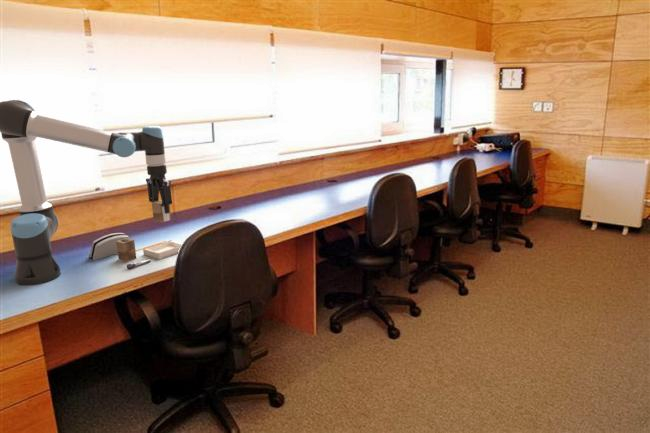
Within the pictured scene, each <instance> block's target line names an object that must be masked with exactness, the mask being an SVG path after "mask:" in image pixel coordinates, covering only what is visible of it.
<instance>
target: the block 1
mask: <svg viewBox="0 0 650 433" xmlns="http://www.w3.org/2000/svg"><path fill="white" fill-rule="evenodd" d="M116 244H117V251H118V253H117V257H118V260H119V261H122V262H124V263H126V262H129V261H133V260H136V259H137V251H135V250H136V244H135V239H132V238H130V237H129V238H125V239H122V240H118V241H116Z"/></svg>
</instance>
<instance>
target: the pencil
mask: <svg viewBox="0 0 650 433" xmlns="http://www.w3.org/2000/svg"><path fill="white" fill-rule="evenodd" d="M164 242H167V240H166V241H162V242H158V243H155V244H151V245H148V246H145V247H142V248H138V249H135V251H136V252H138V251H143V249H144V248H148V247H151V246H154V245H157V244H161V243H164Z"/></svg>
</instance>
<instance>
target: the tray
mask: <svg viewBox="0 0 650 433" xmlns="http://www.w3.org/2000/svg"><path fill="white" fill-rule="evenodd" d="M163 242H164V241H163ZM160 243H161V242H160ZM156 244H157V245H154V244H153V245H154V246H151V245H150V246H151V247H148V246H147V247H148V248H144V247H143V248H144V249H142V251H143V255H145V256H147V257H150V258H154V259H157V260H163V259H166V258H168V257H171V256H174V255H177V253H178V250H179V248H180V247H181V245H182V244H183V243H182V242H178V241H175V240H168V241H167V240H166V242H164V243H161V244H158V243H156ZM178 254H179V253H178Z"/></svg>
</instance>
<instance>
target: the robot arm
mask: <svg viewBox="0 0 650 433" xmlns="http://www.w3.org/2000/svg"><path fill="white" fill-rule="evenodd" d="M141 128H142V129H141V130H142V131H137V132H135V131H134V132H117V133H116V132H111V131H107V130H102V129H99V128H98V129H97V128H94V127H90V126H87V125H86V126H85V125H81V124H77V123H72V122H68V121H64V120H59V119H56V118H51V117H47V116H43V115H39V114H37V112H36V110H35V108H34V107H33V106H31V105H30V104H29V103H28V102H26V101H23V100H19V99H10V100H3V101H1V102H0V134H1V137H2V140H3V141H5V142H6V143H8V147H9V148H8V149H9V152H10V157H11V161H12V162H11V163H12V166H13V171H14V175H15V179H16V183H17V187H18V188H17V189H18V193H19V197H20V202H21V205H20V207H19V209H18V214H19V216H16V217H15V218H13V219H12V220H11V222H10V234H11V236H12V237H11V238H12V241H13V242H12V243H13V247H14V253H15V258H16V265H15V270H14V275H13V277H14V282H15V284H18V285H23V286H24V285H25V286H28V285H29V286H30V285H37V284H38V285H39V284H42V283H47V282H49V281H52V280H55V279H57V278H58V277H60V276H61V274H62V273H61V268H60V266H59V265H60V264H58V262H57V260H56V258H55V257H54V256H53V251H52V245H51V244H52V243H51V238H52V237H53V236H54V235H55V234H56V232H57V230H58V228H59V218H58V216H57V214H56V213H55V212H54V208H53V204H52V203H50V202H49V201H48V200H47V195H46V190H45V186H44V180H43V176H42V172H41V171H42V170H41V167H40V163H39V158H38V157H39V156H38V152H37V147H36V142H35V140H36V139H37V138H40V139H46V140H50V141H55V142H58V143H59V142H60V143H63V144H64V143H65V144H69V145H73V146H77V147H81V148H87V149H91V150H96V151H100V152H105V153H109V154H113V155H117V156H118V157H121V158H128V157H130V156H132V155H134V154H135V152H144V154H145V163H146V165H147V166H146V172H147V175H148V176H149V178H146V179H145V181H146V182H145V183H146V185H147V192H148V193H147V195H148V201H149V202H150V203H152V202H155V201H159V200H162V203H163V205H161V206H162V213H163V221H164V222H168V221H171V220H170V216H169V205H172V204H173V199H172V190H171V188H172V187H171V185H172V184H171V182H172V181H171V180H167V178H166V174H167V172H168V170H167V164H166V155H165V154H166V153H165V142H164V141H165V140H164V135H163V129H162V127H161V126H159V125H149V126H148V125H147V126H143V127H141ZM159 198H160V199H159ZM164 222H163V223H164Z"/></svg>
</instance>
